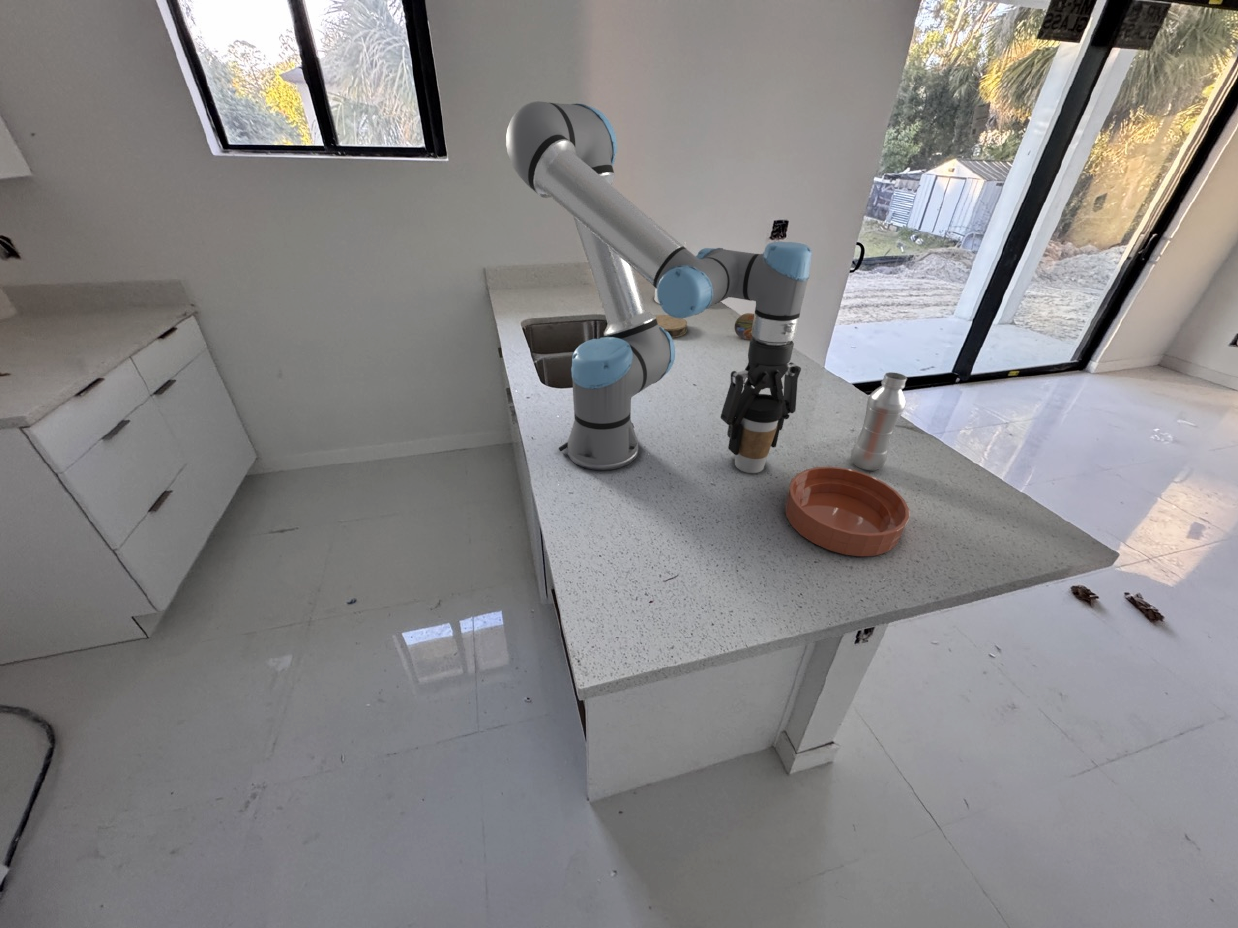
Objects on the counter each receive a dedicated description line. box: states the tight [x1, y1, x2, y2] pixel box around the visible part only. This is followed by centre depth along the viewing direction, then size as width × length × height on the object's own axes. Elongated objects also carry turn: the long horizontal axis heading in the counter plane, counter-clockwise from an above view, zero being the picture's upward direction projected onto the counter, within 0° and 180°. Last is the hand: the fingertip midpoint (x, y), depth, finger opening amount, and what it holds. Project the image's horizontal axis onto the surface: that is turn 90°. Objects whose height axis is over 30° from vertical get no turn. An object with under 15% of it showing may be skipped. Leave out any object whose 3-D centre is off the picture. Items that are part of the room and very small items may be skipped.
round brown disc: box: [653, 314, 688, 339], centre depth 171 cm, size 16×16×3 cm
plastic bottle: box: [850, 371, 908, 471], centre depth 96 cm, size 6×7×20 cm
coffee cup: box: [734, 393, 783, 474], centre depth 97 cm, size 8×8×15 cm
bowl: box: [784, 466, 910, 557], centre depth 85 cm, size 19×19×5 cm
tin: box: [734, 312, 755, 341], centre depth 162 cm, size 15×3×8 cm, turn 68°
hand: (752, 447), depth 99 cm, fingers open, 8 cm apart
